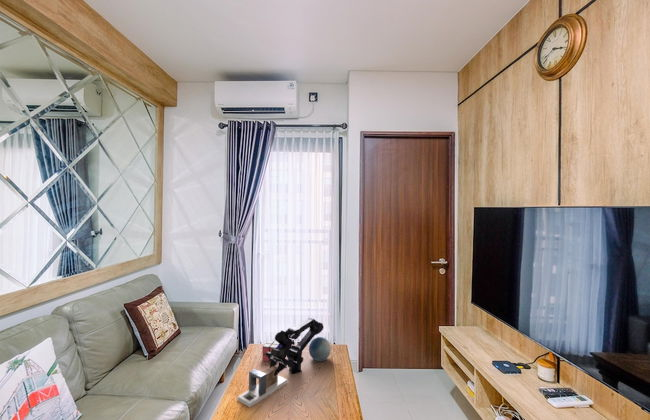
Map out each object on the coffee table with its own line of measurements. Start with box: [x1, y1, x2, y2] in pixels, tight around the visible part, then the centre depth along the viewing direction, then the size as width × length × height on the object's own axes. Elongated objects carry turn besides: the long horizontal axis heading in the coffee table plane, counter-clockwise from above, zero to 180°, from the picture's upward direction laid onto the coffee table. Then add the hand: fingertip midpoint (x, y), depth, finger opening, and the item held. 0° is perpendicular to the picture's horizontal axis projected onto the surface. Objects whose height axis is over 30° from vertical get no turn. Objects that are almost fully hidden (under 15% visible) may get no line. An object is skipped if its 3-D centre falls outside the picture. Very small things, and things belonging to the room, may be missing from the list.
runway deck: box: [237, 374, 288, 408], centre depth 178 cm, size 28×10×2 cm, turn 144°
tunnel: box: [248, 368, 266, 396], centre depth 174 cm, size 4×9×10 cm, turn 54°
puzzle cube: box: [261, 339, 281, 363], centre depth 215 cm, size 10×10×10 cm
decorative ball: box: [308, 336, 332, 362], centre depth 214 cm, size 15×15×15 cm
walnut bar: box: [262, 366, 279, 389], centre depth 181 cm, size 10×4×8 cm, turn 144°
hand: (271, 374), depth 183 cm, fingers closed on walnut bar, 4 cm apart
